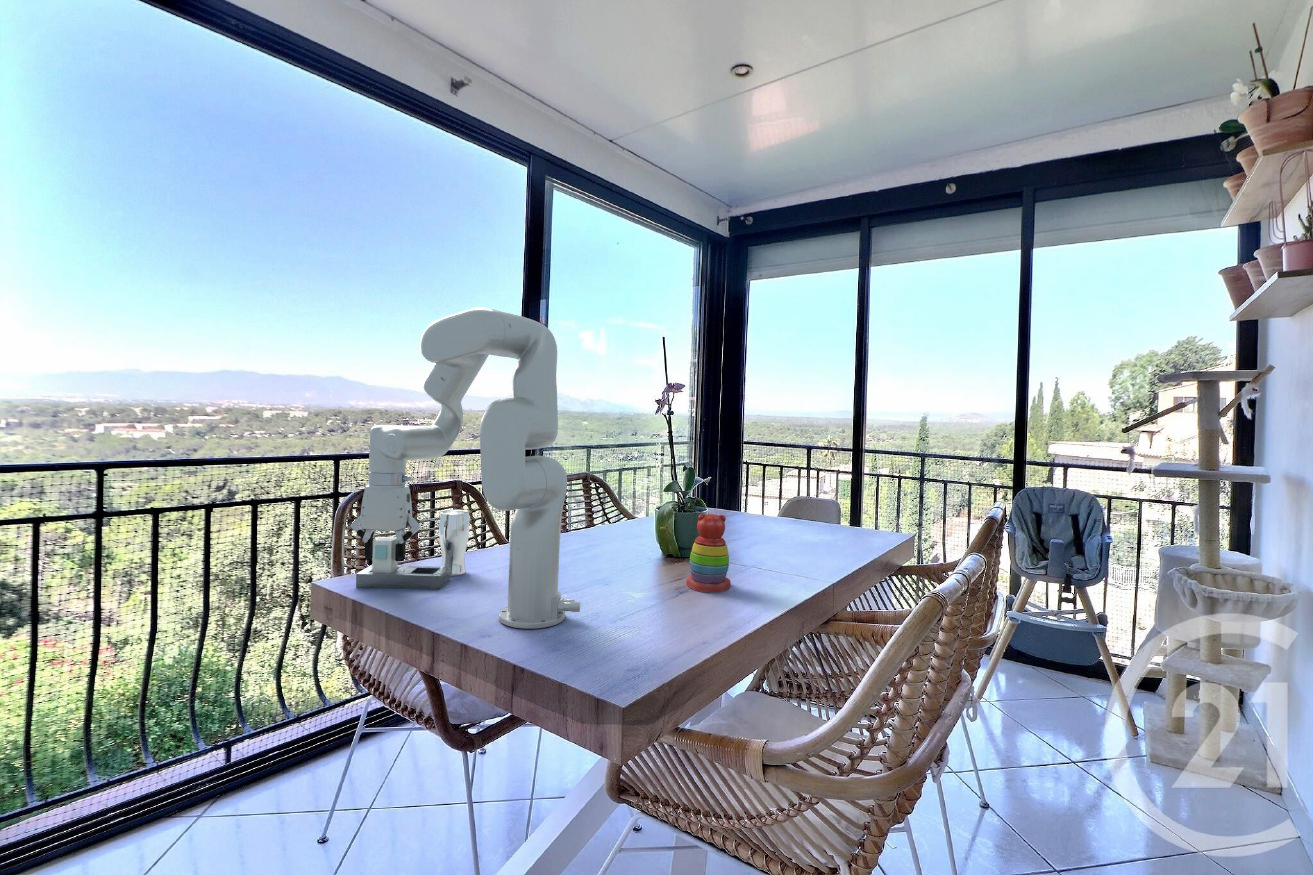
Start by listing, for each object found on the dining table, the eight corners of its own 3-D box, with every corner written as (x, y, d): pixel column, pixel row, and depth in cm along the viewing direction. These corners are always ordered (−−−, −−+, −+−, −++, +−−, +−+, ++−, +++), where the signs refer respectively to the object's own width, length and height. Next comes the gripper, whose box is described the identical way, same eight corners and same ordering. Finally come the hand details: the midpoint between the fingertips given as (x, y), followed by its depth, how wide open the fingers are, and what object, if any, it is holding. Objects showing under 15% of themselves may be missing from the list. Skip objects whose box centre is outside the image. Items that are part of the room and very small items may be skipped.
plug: (397, 580, 137) (398, 537, 137) (388, 586, 133) (389, 541, 132) (379, 580, 137) (380, 536, 137) (370, 585, 132) (371, 541, 132)
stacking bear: (730, 583, 148) (733, 511, 147) (731, 595, 138) (735, 518, 137) (686, 580, 149) (690, 509, 148) (684, 591, 139) (688, 515, 138)
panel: (449, 579, 140) (450, 566, 140) (439, 589, 132) (439, 576, 132) (371, 577, 139) (371, 564, 139) (355, 587, 131) (356, 573, 131)
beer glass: (462, 577, 142) (464, 514, 142) (433, 575, 142) (435, 513, 142) (471, 569, 149) (473, 510, 149) (444, 568, 149) (446, 509, 149)
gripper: (431, 479, 139) (429, 556, 139) (355, 476, 138) (353, 554, 138) (420, 483, 131) (417, 564, 132) (340, 480, 130) (337, 562, 131)
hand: (384, 558), depth 135 cm, fingers open, 5 cm apart
